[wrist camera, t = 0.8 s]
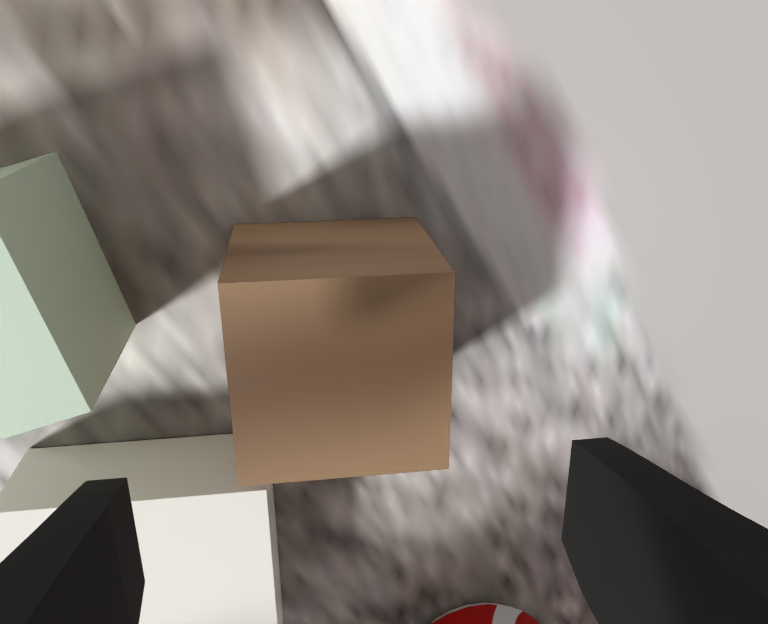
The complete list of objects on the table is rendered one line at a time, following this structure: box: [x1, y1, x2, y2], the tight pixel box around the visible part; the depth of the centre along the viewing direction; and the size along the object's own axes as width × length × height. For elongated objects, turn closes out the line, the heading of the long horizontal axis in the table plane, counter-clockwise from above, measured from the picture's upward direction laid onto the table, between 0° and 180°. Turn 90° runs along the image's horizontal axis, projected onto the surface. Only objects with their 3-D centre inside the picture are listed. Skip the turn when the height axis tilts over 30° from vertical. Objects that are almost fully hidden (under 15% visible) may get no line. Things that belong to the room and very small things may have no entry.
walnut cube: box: [218, 217, 456, 487], centre depth 18 cm, size 5×5×5 cm
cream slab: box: [0, 434, 282, 624], centre depth 21 cm, size 7×7×3 cm
